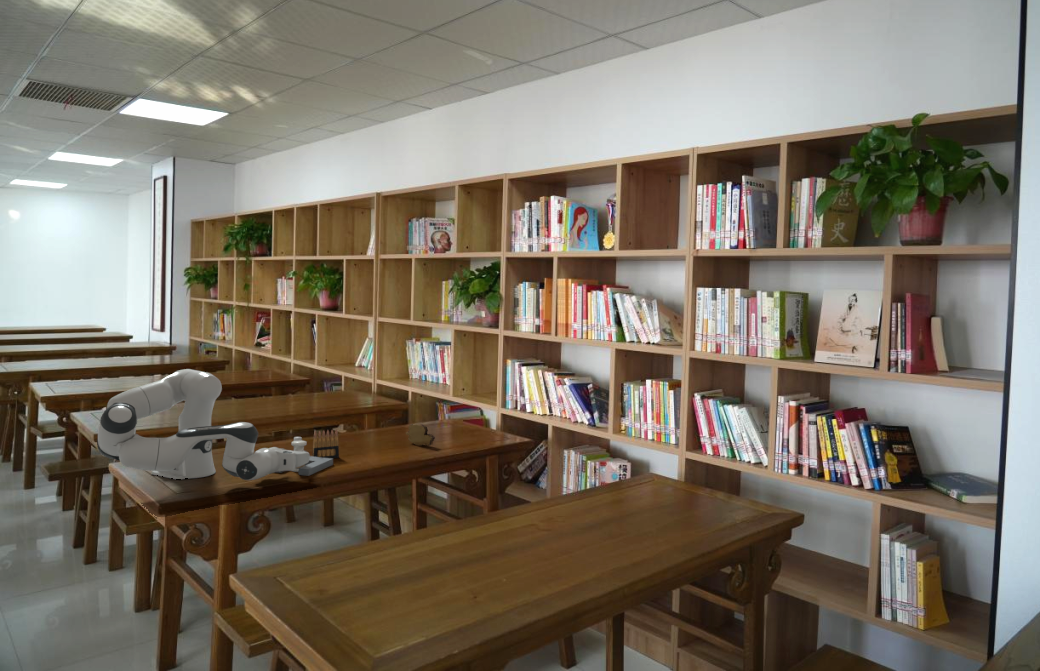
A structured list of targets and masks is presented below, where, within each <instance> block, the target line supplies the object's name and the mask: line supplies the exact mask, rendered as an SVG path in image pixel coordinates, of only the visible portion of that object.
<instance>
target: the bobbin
mask: <svg viewBox="0 0 1040 671" xmlns="http://www.w3.org/2000/svg"><path fill="white" fill-rule="evenodd" d="M307 442H308V441H306V440H302V441H294V440H293V441H291V446H292V447H293V451H305V446H307V445H308V444H307ZM303 466H305V464H304V465H302V466H300V467H295V470H292V471H291V472H294V473H299V468H301V467H303Z"/></svg>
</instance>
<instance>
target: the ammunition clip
mask: <svg viewBox="0 0 1040 671" xmlns="http://www.w3.org/2000/svg"><path fill="white" fill-rule="evenodd" d="M339 447H340V446H339V433H338V429H335V432H334V430H333V429H331V432H330V431H329V429H327V431H326V432H325V429H323V430H322V433H321V430H318V433H317V431H316V430H314V434H313V441H312V455H311V456H313V457H323V458H332V459H339V458H340V453H339V452H340V450H339Z"/></svg>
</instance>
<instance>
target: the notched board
mask: <svg viewBox="0 0 1040 671" xmlns="http://www.w3.org/2000/svg"><path fill="white" fill-rule="evenodd" d="M293 441H303V438H302V437H301V436H294V437H293ZM333 465H334V458H323V457H313V456H312V455H310V459H309V462H308V463H306V464H305V466H303V467H301V468H299V472H298V475H300V476H305V477H306V476H308V477H309V476H311V475H313V474H316V473H318V472H320V471H322V470H324V469H326V468H329V467H332V466H333ZM284 472H285V471H279V472H278V473H281V474H282V473H284Z"/></svg>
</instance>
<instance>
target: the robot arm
mask: <svg viewBox="0 0 1040 671" xmlns="http://www.w3.org/2000/svg"><path fill="white" fill-rule="evenodd" d="M221 382H222V381H221V380H220V378H218V377H216V376H215V375H214V374H212V373H211V372H208V371H206V372H205V371H201V370H196V369H191V368H186V369H185V368H184V369H180V370H176V371H173V373H172V374H169V375H167V376H165V377H163V378H161V379H158V380H156V381H153V382H149V383H146V384H143V385H140V386H136V387H133V388H130V389H128V390H125V391H123V392H120V393H118V394H116V395H114V396H113V397H111V398H110V399H109V400H108V402H107V405H106V408H105V410H104V412H103V413H102V414H101V416H100V420H99V424H98V428H97V441H96V445H97V446H96V447H97V450H98V452H99V454H101V456H103V457H105V458H108V459H111V460H116V461H119V462H120V464H121V465H122V466H123V467H126V468H129V469H134V470H140V471H147V472H151V475H154V476H157V475H158V477H162V476H163V477H164V478H167V479H171V478H173V479H172V480H176V479H181V480H185V478H188V479H198V478H204V477H209V476H211V475H214V474H216V473H217V472H216V468H215V465H214V459H213V453H212V452H213V451H212V449H213V440H221V439H226V443H225V448H224V452H223V458H222V464H221V466H222V467H223V470H224V471H225V472H226V473H228V474H229V475H230V476H233V477H236V478H239V479H241V480H244V481H253V480H258V479H261V478H263V477H265V476H268V475H270V474H273V473H279V471H284V472H289V471H291V472H293V471H292V470H295V467H300V466H302V465H304V464H306V463H308V462H309V459H310V456H311V455H310V453H309V452H308V451H307V450H304V451H294V450H290V449H285V448H279V447H277V446H273V447H269V448H268V447H262V448H259V449H258V450H256V451H255V446H256V442H257V440H258V436H259V431H258V429H257V428H256V426H254V424H253V423H251V422H245V421H239V422H234V423H233V422H232V423H229V424H221V425H219V424H218V425H212V416H213V408H214V406H215V403H216V400H217V398H219V397H220V395H221V392H222V391H223V388H222V385H223V384H222V383H221ZM183 401H184V405H183V409H182V411H181V413H180V414H178V415H179V416H178V431H177V432H176V434H173V435H171V436H168V437H144V436H141V435H139V434H138V433H137V432H136V431H137V430H136V429H137V424H138V420H141V419H145V418H147V417H151V416H154V415H157V414H160V413H163V412H166V411H168V410H170V409H172V407H173V406H175V405H177V404H179V403H181V402H183ZM163 477H162V478H163Z"/></svg>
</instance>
